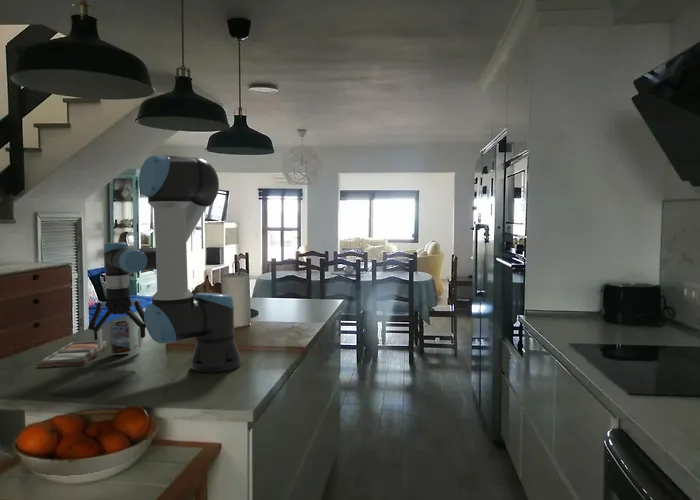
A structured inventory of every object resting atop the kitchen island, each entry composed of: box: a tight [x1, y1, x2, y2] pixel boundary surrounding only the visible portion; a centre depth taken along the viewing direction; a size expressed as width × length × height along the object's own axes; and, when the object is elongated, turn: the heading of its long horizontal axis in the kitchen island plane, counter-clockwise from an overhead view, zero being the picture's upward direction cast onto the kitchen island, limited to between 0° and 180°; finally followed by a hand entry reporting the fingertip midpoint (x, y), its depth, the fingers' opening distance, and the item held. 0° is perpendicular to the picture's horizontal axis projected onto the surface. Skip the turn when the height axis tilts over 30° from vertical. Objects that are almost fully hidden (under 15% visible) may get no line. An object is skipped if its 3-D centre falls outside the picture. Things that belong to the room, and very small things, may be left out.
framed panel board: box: [37, 340, 111, 368], centre depth 184 cm, size 26×14×2 cm, turn 7°
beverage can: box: [109, 319, 131, 356], centre depth 184 cm, size 6×7×12 cm
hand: (120, 348), depth 185 cm, fingers open, 13 cm apart
